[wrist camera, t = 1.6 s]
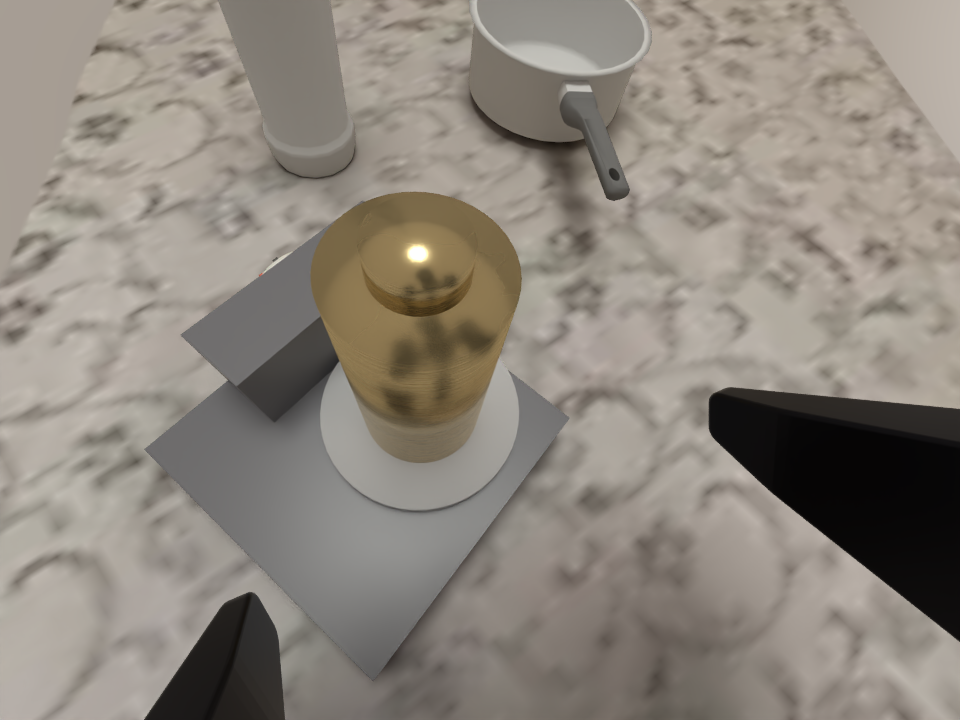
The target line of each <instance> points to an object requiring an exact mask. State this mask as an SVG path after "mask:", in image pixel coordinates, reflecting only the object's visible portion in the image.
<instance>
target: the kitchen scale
mask: <svg viewBox="0 0 960 720" xmlns="http://www.w3.org/2000/svg"><path fill="white" fill-rule="evenodd" d="M363 202H364V201H361V202H360V203H359V204H361V203H363ZM359 204H357V205H359ZM357 205H356V206H357ZM354 207H355V206H354ZM354 207H353V208H354ZM350 210H351V209H350ZM335 221H336V220H335ZM335 221H334V222H335ZM334 222H333V223H334ZM333 223H331V224H330V225H329V226H327V227H326V228H325V229H323V230H322V231H321V232H319V233H318V234H316V235H315V236H314V237H312V238H311V239H310V240H308V241H307V242H306V243H304V244H303V245H302V246H300V247H299V248H298V249H296V250H295V251H292V252H290V253H287V254H285V255H284V256H282V257H280V258H279V259H278V258H277V257H276V258H275V259H274V260H273V263H272V264H271V265H270V266H269V267H268V268H267V269H266V270H265V271H264V272H263V273H261V274H260V275H259V277H258V278H257V279H255V280H254V281H253V282H251V283H250V284H249V285H247V286H246V287H245V288H243V289H242V290H241V291H239V292H238V293H237V294H235V295H234V296H232V297H231V298H230V299H228V300H227V301H226V302H224V303H223V304H222V305H220V306H219V307H218V308H216V309H215V310H213V311H212V312H211V313H209V314H208V315H207V316H205V317H204V318H203V319H201V320H200V321H199V322H197V323H196V324H194V325H193V326H192V327H190V328H189V329H188V330H186V331H185V332H184V333H182V334H181V336H182V337H183V338H184V339H185V340H186V341H187V342H188V343H189V344H190V345H191V346H193V347H194V348H195V349H196V350H197V351H198V352H199V353H200V354H201V355H202V356H203V357H204V358H205V359H206V360H207V361H208V362H209V363H210V364H211V365H213V366H214V367H215V368H216V369H217V370H218V371H219V372H220V373H221V374H222V375H223V376H224V377H225V378H226V379H227V380H228V381H227V382H226V383H224V384H223V385H222V386H221V387H220V388H218V389H217V390H216V391H215V392H213V393H212V394H211V395H210V396H209V397H207V398H206V399H205V400H204V401H203V402H201V403H200V404H199V405H198V406H196V407H195V408H194V409H193V410H192V411H190V412H189V413H188V414H187V415H185V416H184V417H183V418H182V419H181V420H179V421H178V422H177V423H176V424H175V425H173V426H172V427H171V428H170V429H168V430H167V431H166V432H165V433H164V434H162V435H161V436H160V437H159V438H158V439H156V440H155V441H154V442H153V443H151V444H150V445H149V446H148V447H147V448H145V449H144V450H145V451H146V452H147V453H148V454H149V455H150V456H151V457H152V458H153V459H154V460H155V461H156V462H157V463H158V464H159V465H160V466H161V467H162V468H163V469H164V470H165V471H166V472H167V473H168V474H169V475H170V476H171V477H172V478H173V479H174V480H175V481H176V482H177V483H178V484H179V485H180V486H181V487H182V488H183V489H184V490H185V491H186V492H187V493H188V494H189V495H190V496H191V497H192V498H193V499H194V500H195V501H196V502H197V503H198V504H199V505H200V506H201V507H202V508H203V510H204V511H205V512H206V513H207V514H208V515H209V516H210V517H211V518H212V519H213V520H214V521H215V522H216V523H217V524H218V525H219V526H220V527H221V528H222V529H223V530H224V531H225V532H226V533H227V534H228V535H229V536H230V537H231V538H232V539H233V540H234V541H235V542H236V543H237V544H238V545H239V546H240V547H241V548H242V549H243V550H244V551H245V552H246V553H247V554H248V555H249V556H250V557H251V558H252V559H253V560H254V561H255V562H256V563H257V564H258V565H259V566H260V567H261V568H262V569H263V570H264V571H265V572H266V573H267V574H268V575H269V576H270V577H271V578H272V579H273V581H274V582H275V583H276V584H277V585H278V586H279V587H280V588H281V589H282V590H283V591H284V592H285V593H286V594H287V595H288V596H289V597H290V598H291V599H292V600H293V601H294V602H295V603H296V604H297V605H298V606H299V607H300V608H301V609H302V610H303V611H304V612H305V613H306V614H307V615H308V616H309V617H310V618H311V619H312V620H313V621H314V622H315V623H316V624H317V625H318V626H319V627H320V628H321V629H322V630H323V631H324V632H325V633H326V634H327V635H328V636H329V637H330V638H331V639H332V640H333V641H334V642H335V643H336V644H337V645H338V646H339V647H340V648H341V649H342V650H343V652H344V653H345V654H346V655H347V656H348V657H349V658H350V659H351V660H352V661H353V662H354V663H355V664H356V665H357V666H358V667H359V668H360V669H361V670H362V671H363V672H364V673H365V674H366V675H367V676H368V677H369V678H370V679H371V680H372V681H374V680H375V678H376V677H377V676H378V674H379V673H380V672H381V670H382V669H383V668H384V666H385V665H386V664H387V662H388V661H389V660H390V658H391V657H392V655H393V654H394V653H395V651H396V650H397V649H398V647H399V646H400V645H401V643H402V642H403V641H404V639H405V638H406V637H407V635H408V634H409V633H410V631H411V630H412V629H413V627H414V626H415V625H416V623H417V622H418V621H419V619H420V618H421V617H422V615H423V614H424V613H425V611H426V610H427V609H428V607H429V606H430V605H431V603H432V602H433V601H434V599H435V598H436V597H437V595H438V594H439V592H440V591H441V590H442V588H443V587H444V586H445V584H446V583H447V582H448V580H449V579H450V578H451V576H452V575H453V574H454V572H455V571H456V570H457V568H458V567H459V566H460V564H461V563H462V562H463V560H464V559H465V558H466V556H467V555H468V554H469V552H470V551H471V550H472V548H473V547H474V546H475V544H476V543H477V542H478V540H479V539H480V538H481V536H482V535H483V534H484V532H485V531H486V530H487V528H488V527H489V525H490V524H491V523H492V521H493V520H494V519H495V517H496V516H497V515H498V513H499V512H500V511H501V509H502V508H503V507H504V505H505V504H506V503H507V501H508V500H509V499H510V497H511V496H512V495H513V493H514V492H515V491H516V489H517V488H518V487H519V485H520V484H521V483H522V481H523V480H524V479H525V477H526V476H527V475H528V473H529V472H530V471H531V469H532V468H533V467H534V465H535V464H536V463H537V461H538V460H539V458H540V457H541V456H542V454H543V453H544V452H545V450H546V449H547V448H548V446H549V445H550V444H551V442H552V441H553V440H554V438H555V437H556V436H557V434H558V433H559V432H560V430H561V429H562V428H563V426H564V425H565V424H566V422H567V421H568V420H569V417H568V416H567V415H565V414H564V413H563V412H561V411H560V410H559V409H557V408H556V407H555V406H554V405H552V404H551V403H550V402H548V401H547V400H546V399H545V398H543V397H542V396H541V395H539V394H538V393H537V392H535V391H534V390H533V389H532V388H530V387H529V386H528V385H526V384H525V383H524V382H523V381H521V380H520V379H519V378H517V377H516V376H515V375H513V374H512V373H511V372H510V371H508V370H507V368H506V366H505V365H504V363H503V362H502V360H501V359H500V358H499V359H498V362H497V364H496V367H495V370H494V373H493V376H492V379H491V382H490V385H489V388H488V391H487V393H486V396H485V399H484V402H483V405H482V408H481V411H480V414H479V417H478V420H477V422H476V425H475V428H474V430H473V432H472V434H471V436H470V437H469V439H468V440H467V441H466V443H465V444H464V445H463V446H462V447H461V448H460V449H458V450H457V451H456V452H455V453H453V454H451V455H450V456H448V457H446V458H443V459H441V460H438V461H434V462H428V463H413V462H407V461H403V460H400V459H398V458H395V457H393V456H392V455H390V454H388V453H387V452H385V451H384V450H383V449H382V448H381V447H380V446H379V445H378V444H377V443H376V442H375V440H374V439H373V438H372V436H371V434H370V432H369V430H368V428H367V425H366V423H365V421H364V418H363V416H362V414H361V411H360V409H359V406H358V404H357V402H356V399H355V397H354V394H353V392H352V390H351V387H350V385H349V382H348V380H347V378H346V375H345V373H344V370H343V368H342V366H341V363H340V361H339V359H338V356H337V354H336V351H335V349H334V347H333V344H332V342H331V339H330V337H329V335H328V332H327V330H326V327H325V325H324V323H323V320H322V318H321V315H320V313H319V311H318V308H317V306H316V303H315V300H314V298H313V294H312V289H311V279H310V271H311V264H312V259H313V256H314V253H315V250H316V248H317V246H318V244H319V242H320V240H321V238H322V237H323V235H324V234H325V232H326V231H327V230H328V228H329V227H330V226H331V225H332V224H333Z"/></svg>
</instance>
